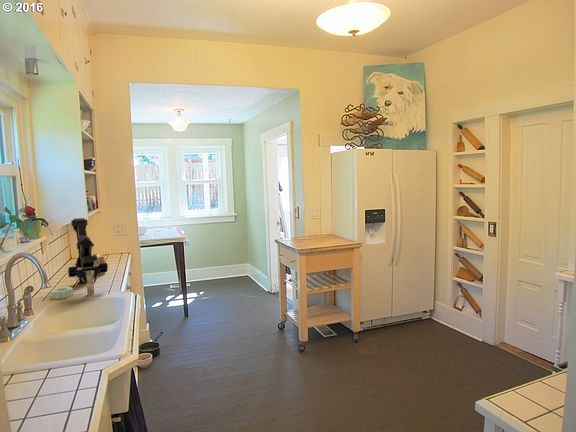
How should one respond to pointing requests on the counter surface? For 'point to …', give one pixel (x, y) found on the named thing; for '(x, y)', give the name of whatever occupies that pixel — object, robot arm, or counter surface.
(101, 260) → the beige printed box
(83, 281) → the robot arm
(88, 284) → the peg
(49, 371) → the counter surface
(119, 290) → the counter surface
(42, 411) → the counter surface
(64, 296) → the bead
